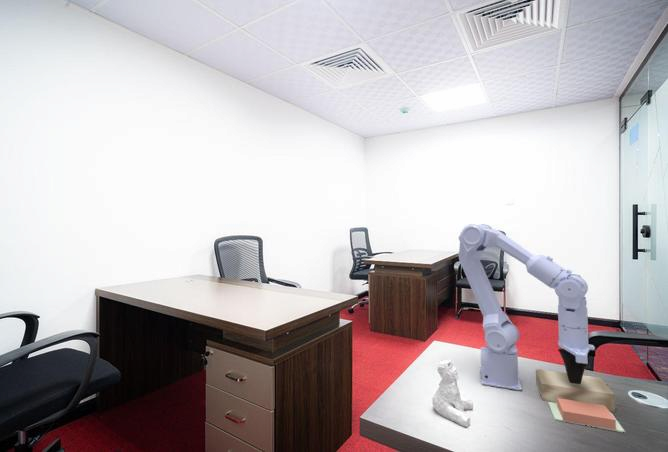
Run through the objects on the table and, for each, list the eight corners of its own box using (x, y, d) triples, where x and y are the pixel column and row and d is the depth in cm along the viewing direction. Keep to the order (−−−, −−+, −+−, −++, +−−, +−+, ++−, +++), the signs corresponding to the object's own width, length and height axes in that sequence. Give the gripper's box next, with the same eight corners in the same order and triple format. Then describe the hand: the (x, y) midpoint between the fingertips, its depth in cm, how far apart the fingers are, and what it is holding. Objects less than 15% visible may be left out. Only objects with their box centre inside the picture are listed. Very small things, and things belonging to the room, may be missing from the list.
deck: (542, 400, 79) (541, 383, 79) (536, 384, 87) (535, 369, 87) (614, 412, 73) (614, 394, 73) (600, 393, 81) (600, 377, 81)
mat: (554, 419, 71) (554, 418, 71) (548, 403, 78) (548, 401, 78) (624, 432, 66) (624, 431, 66) (610, 413, 73) (610, 412, 73)
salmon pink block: (556, 397, 76) (557, 406, 75) (563, 411, 70) (563, 420, 70) (604, 405, 72) (605, 414, 72) (615, 420, 66) (615, 429, 66)
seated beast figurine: (469, 429, 68) (468, 372, 68) (428, 419, 72) (426, 365, 72) (473, 407, 76) (472, 356, 77) (436, 399, 80) (434, 351, 81)
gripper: (604, 336, 69) (606, 400, 69) (584, 319, 83) (586, 372, 82) (564, 333, 72) (566, 393, 72) (551, 316, 86) (553, 368, 85)
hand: (574, 382), depth 77 cm, fingers closed
